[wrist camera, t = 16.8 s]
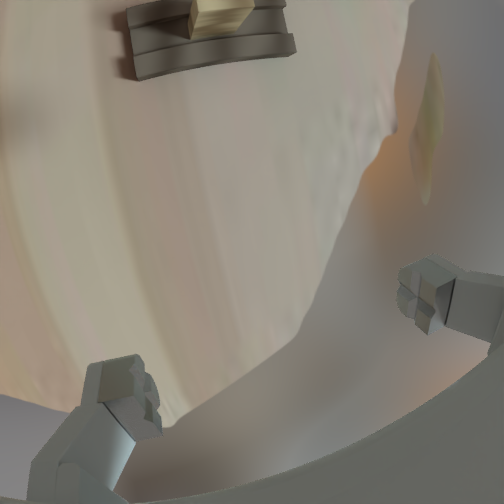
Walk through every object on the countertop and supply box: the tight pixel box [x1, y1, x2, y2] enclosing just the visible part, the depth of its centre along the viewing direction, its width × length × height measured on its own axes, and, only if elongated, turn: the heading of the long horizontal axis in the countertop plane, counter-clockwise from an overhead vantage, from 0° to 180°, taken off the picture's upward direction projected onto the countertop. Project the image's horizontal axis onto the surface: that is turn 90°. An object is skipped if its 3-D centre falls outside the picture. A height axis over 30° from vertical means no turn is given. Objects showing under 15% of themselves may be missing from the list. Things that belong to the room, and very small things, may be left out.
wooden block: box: [187, 0, 255, 40], centre depth 26 cm, size 6×2×10 cm, turn 100°
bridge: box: [126, 0, 297, 81], centre depth 30 cm, size 20×10×3 cm, turn 100°
